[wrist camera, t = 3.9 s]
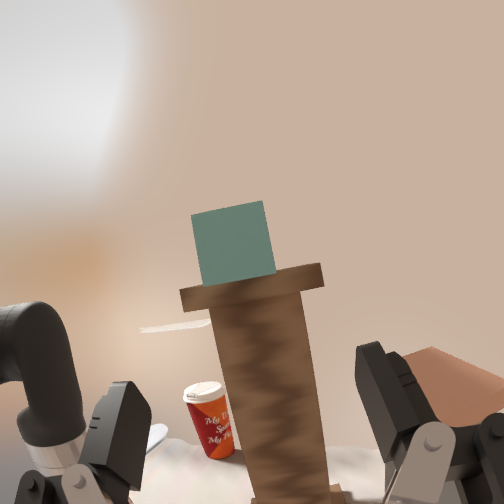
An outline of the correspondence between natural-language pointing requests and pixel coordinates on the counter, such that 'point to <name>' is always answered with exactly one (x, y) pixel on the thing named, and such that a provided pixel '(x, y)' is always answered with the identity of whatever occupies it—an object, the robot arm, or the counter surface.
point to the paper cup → (210, 418)
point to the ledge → (453, 398)
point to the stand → (271, 382)
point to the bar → (233, 244)
